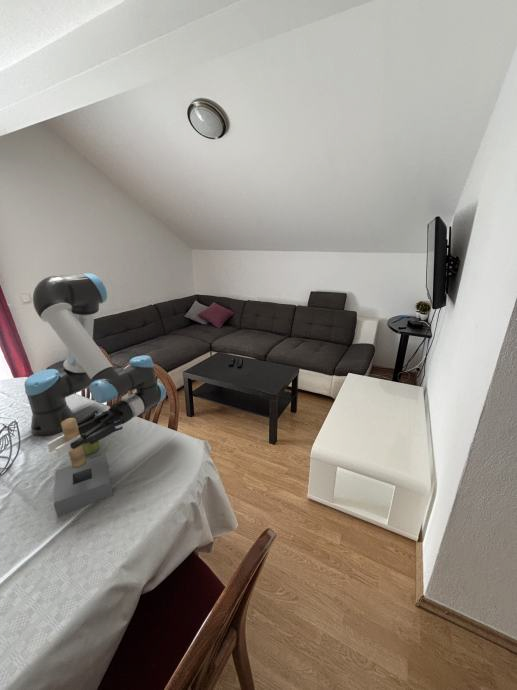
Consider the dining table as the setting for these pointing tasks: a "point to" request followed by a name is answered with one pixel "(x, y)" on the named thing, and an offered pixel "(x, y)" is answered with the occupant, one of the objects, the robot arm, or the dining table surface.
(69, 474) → the socket block
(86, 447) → the plant pot
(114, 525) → the dining table surface
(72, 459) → the oak dowel
